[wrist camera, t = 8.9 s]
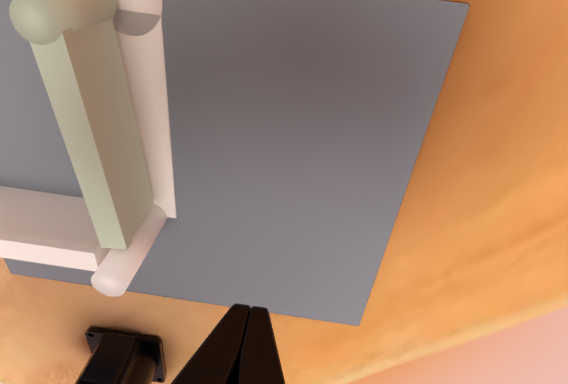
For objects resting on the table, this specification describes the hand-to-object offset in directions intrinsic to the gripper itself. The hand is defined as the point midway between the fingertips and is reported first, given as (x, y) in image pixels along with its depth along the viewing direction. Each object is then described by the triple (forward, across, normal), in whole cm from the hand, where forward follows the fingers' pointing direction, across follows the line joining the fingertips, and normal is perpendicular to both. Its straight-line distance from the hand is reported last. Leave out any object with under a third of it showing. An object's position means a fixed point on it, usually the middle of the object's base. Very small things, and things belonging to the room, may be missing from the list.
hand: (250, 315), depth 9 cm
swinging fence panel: (+12, +9, +1) cm, 15 cm away
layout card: (+13, +7, +5) cm, 15 cm away
